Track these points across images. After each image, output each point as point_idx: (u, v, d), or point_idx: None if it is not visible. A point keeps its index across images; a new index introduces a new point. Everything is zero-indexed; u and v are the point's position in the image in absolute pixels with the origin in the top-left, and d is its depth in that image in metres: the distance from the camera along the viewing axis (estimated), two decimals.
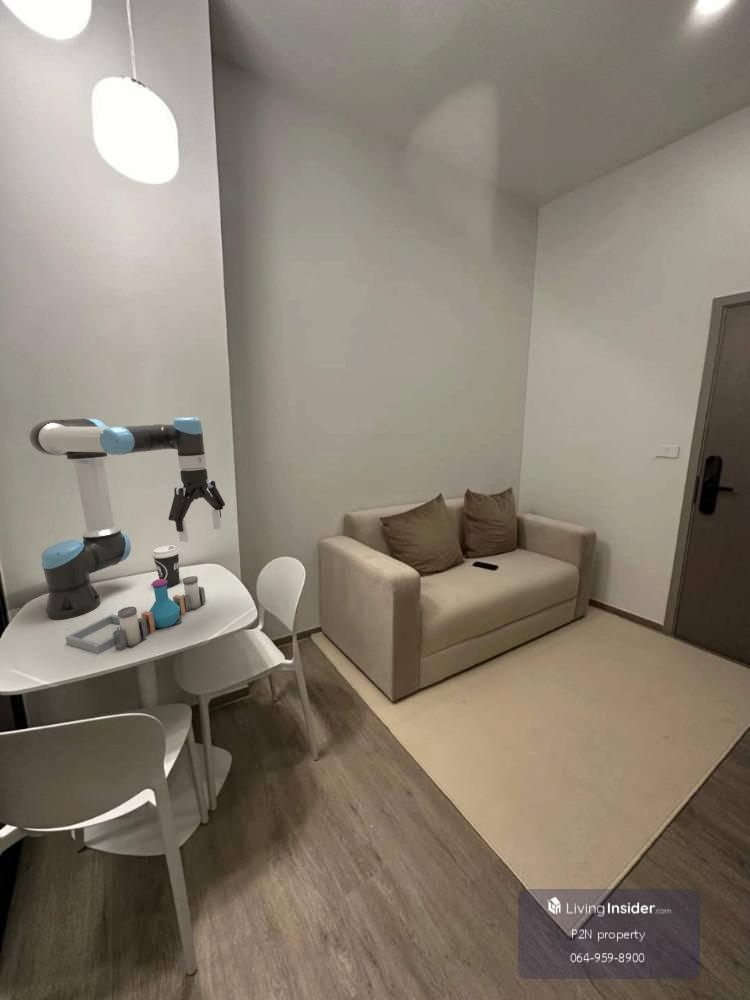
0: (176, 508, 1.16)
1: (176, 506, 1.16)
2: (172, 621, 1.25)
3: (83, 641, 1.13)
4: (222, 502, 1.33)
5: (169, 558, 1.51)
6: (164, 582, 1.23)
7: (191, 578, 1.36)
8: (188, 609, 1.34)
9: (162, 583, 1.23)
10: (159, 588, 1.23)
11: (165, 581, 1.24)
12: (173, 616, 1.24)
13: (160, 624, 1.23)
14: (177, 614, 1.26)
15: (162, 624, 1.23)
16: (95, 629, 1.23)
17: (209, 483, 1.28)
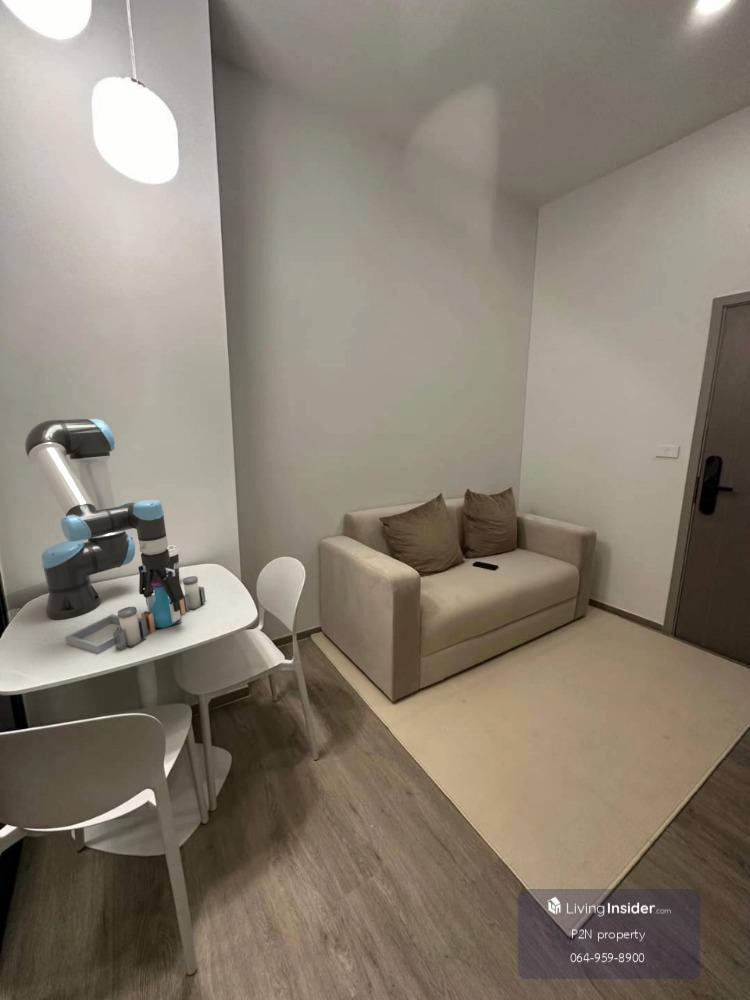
0: None
1: None
2: None
3: (83, 641, 1.13)
4: (175, 597, 1.21)
5: None
6: None
7: (191, 578, 1.36)
8: (188, 609, 1.34)
9: None
10: (159, 588, 1.23)
11: None
12: None
13: (160, 624, 1.23)
14: None
15: (162, 624, 1.23)
16: (95, 629, 1.23)
17: (168, 571, 1.21)
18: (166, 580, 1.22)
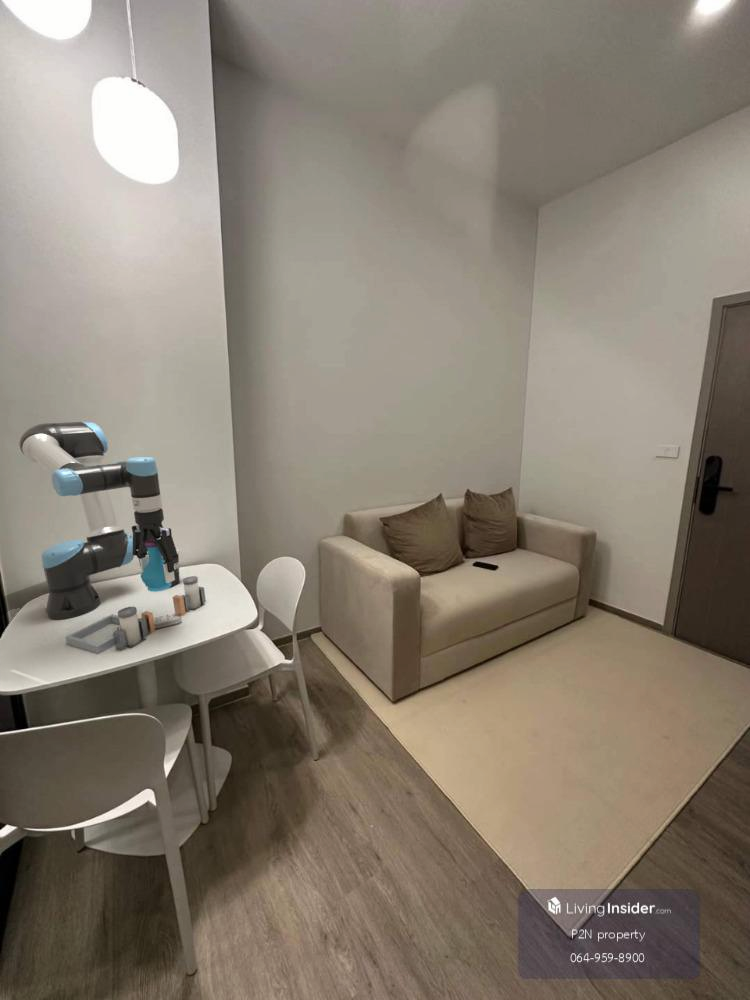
0: None
1: None
2: None
3: (83, 641, 1.13)
4: (169, 557, 1.18)
5: None
6: None
7: (191, 578, 1.36)
8: (188, 609, 1.34)
9: None
10: (153, 548, 1.20)
11: None
12: None
13: (153, 585, 1.20)
14: None
15: (155, 585, 1.20)
16: (95, 629, 1.23)
17: None
18: (160, 540, 1.19)
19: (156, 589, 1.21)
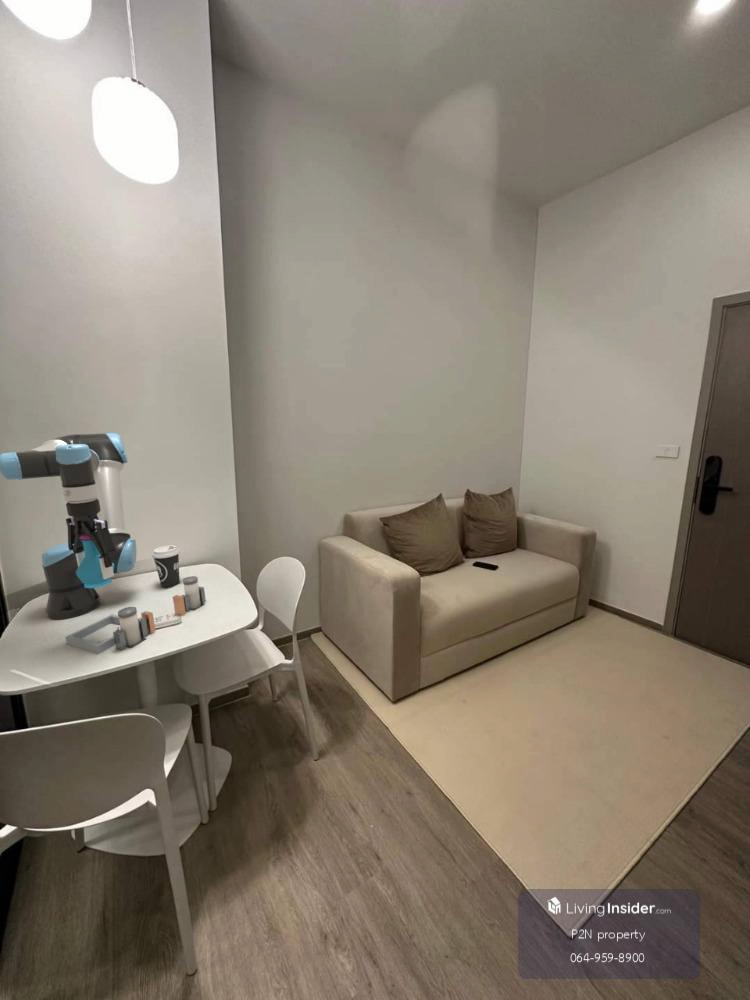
0: None
1: None
2: None
3: (83, 641, 1.13)
4: (105, 551, 1.10)
5: (169, 558, 1.51)
6: None
7: (191, 578, 1.36)
8: (188, 609, 1.34)
9: None
10: (88, 542, 1.12)
11: None
12: None
13: (89, 581, 1.12)
14: None
15: (91, 581, 1.12)
16: (95, 629, 1.23)
17: None
18: (96, 533, 1.12)
19: (93, 586, 1.13)
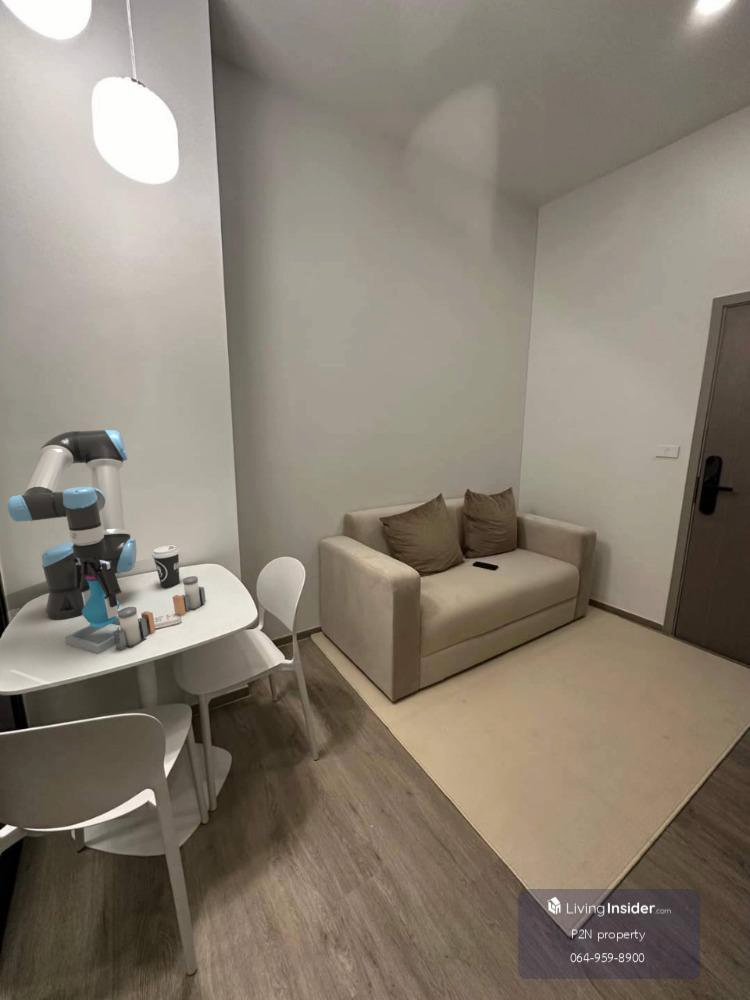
0: None
1: None
2: None
3: (83, 641, 1.13)
4: (110, 591, 1.13)
5: (169, 558, 1.51)
6: None
7: (191, 578, 1.36)
8: (188, 609, 1.34)
9: None
10: (93, 582, 1.14)
11: None
12: None
13: (95, 620, 1.14)
14: None
15: (97, 620, 1.15)
16: (95, 629, 1.23)
17: None
18: (101, 573, 1.14)
19: (98, 624, 1.16)
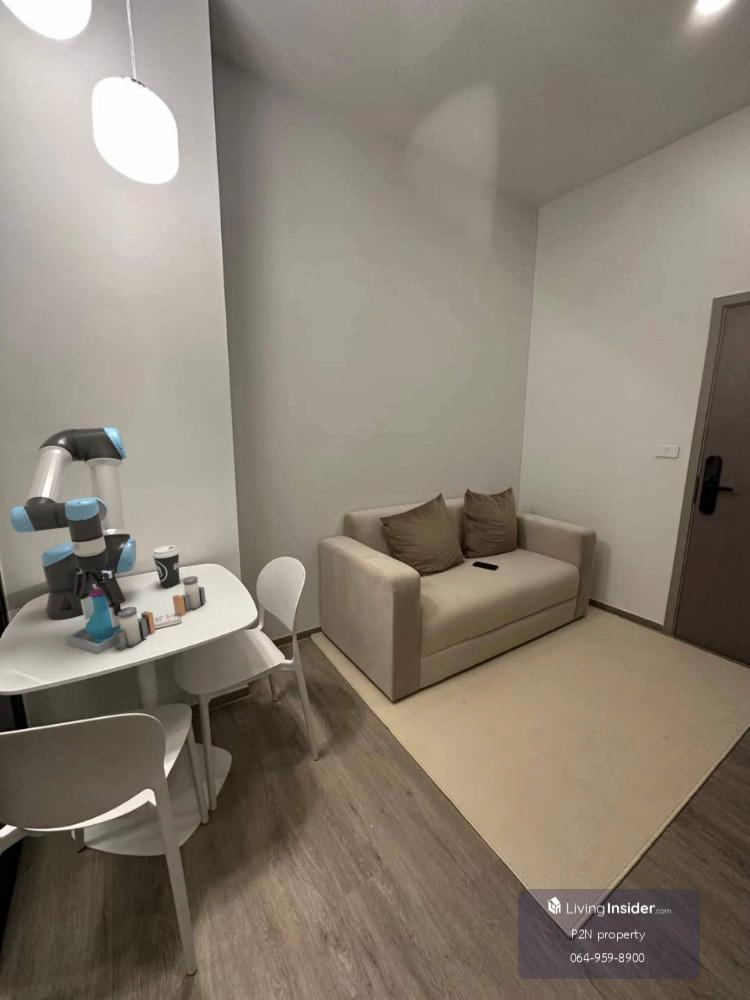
0: None
1: None
2: (112, 633, 1.18)
3: (83, 641, 1.13)
4: (114, 600, 1.13)
5: (169, 558, 1.51)
6: None
7: (191, 578, 1.36)
8: (188, 609, 1.34)
9: (100, 592, 1.16)
10: (97, 598, 1.16)
11: None
12: (112, 627, 1.17)
13: (98, 636, 1.16)
14: None
15: (100, 636, 1.16)
16: None
17: None
18: (104, 583, 1.14)
19: (101, 640, 1.17)
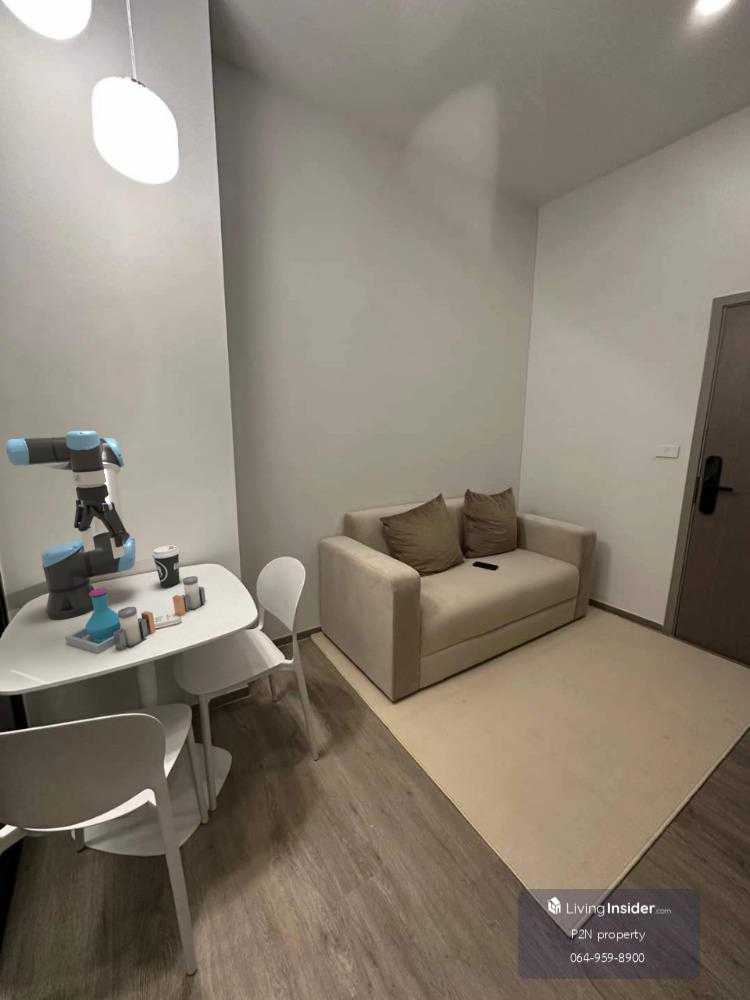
0: None
1: None
2: (112, 633, 1.18)
3: (83, 641, 1.13)
4: (115, 531, 1.14)
5: (169, 558, 1.51)
6: (103, 591, 1.16)
7: (191, 578, 1.36)
8: (188, 609, 1.34)
9: (100, 593, 1.16)
10: (97, 598, 1.15)
11: (104, 590, 1.17)
12: (112, 628, 1.17)
13: (98, 636, 1.16)
14: (117, 625, 1.19)
15: (100, 636, 1.16)
16: None
17: None
18: (104, 515, 1.15)
19: (101, 640, 1.17)
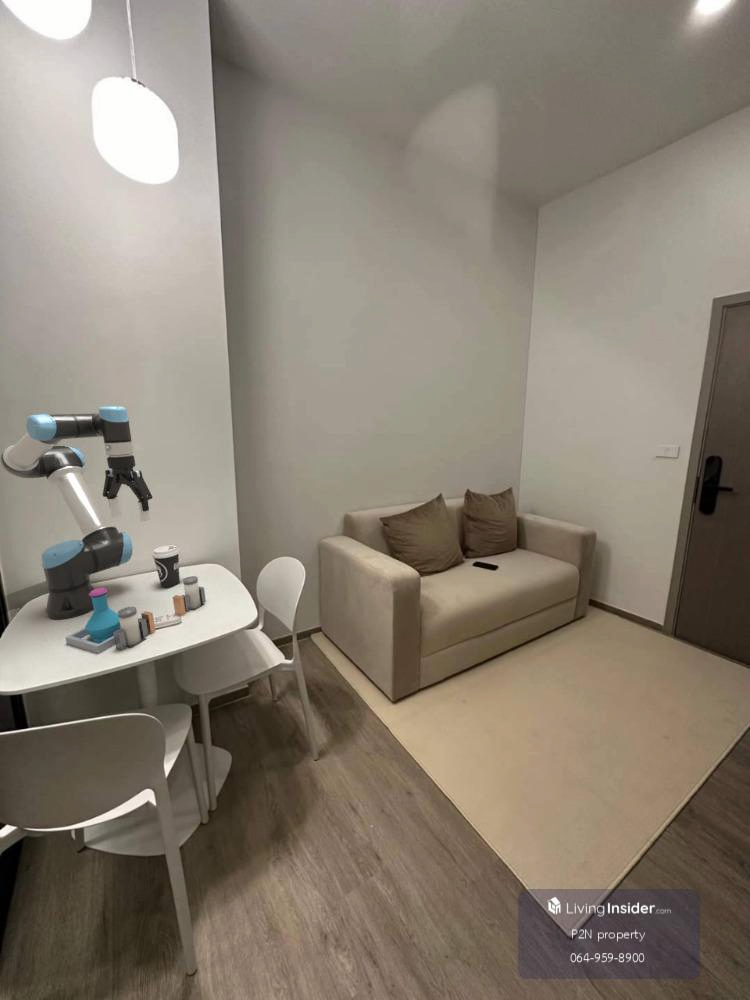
0: None
1: None
2: (111, 633, 1.18)
3: (83, 641, 1.13)
4: (143, 496, 1.27)
5: (169, 558, 1.51)
6: (103, 592, 1.16)
7: (191, 578, 1.36)
8: (188, 609, 1.34)
9: (100, 593, 1.16)
10: (97, 598, 1.15)
11: (104, 590, 1.17)
12: (112, 628, 1.17)
13: (98, 636, 1.16)
14: (117, 625, 1.19)
15: (100, 636, 1.16)
16: None
17: None
18: (132, 482, 1.29)
19: (101, 640, 1.17)
